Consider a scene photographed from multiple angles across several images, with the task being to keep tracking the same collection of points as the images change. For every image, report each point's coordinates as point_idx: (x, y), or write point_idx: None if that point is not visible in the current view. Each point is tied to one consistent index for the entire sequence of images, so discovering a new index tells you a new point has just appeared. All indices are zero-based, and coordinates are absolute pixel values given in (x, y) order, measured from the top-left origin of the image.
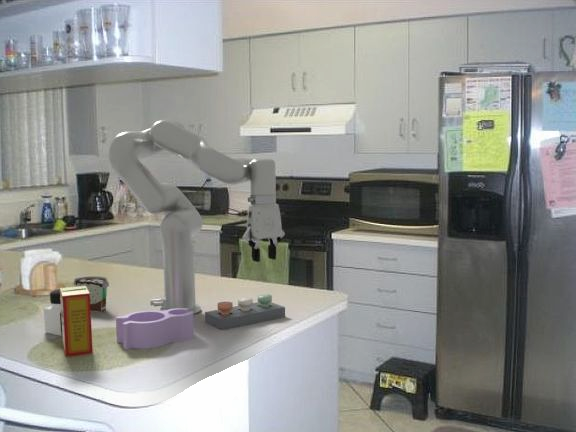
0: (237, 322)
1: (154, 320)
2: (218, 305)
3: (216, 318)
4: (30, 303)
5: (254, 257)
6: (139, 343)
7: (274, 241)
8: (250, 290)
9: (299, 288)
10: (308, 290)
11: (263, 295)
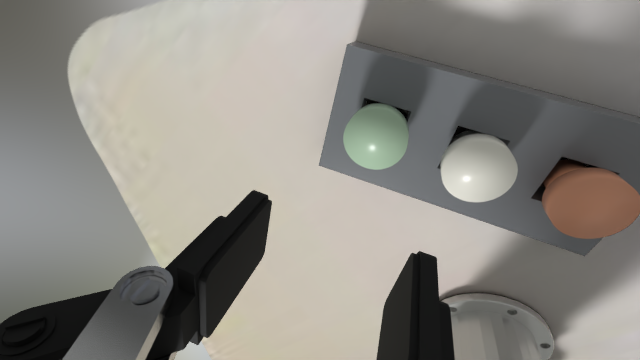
0: (594, 107)
1: None
2: (629, 220)
3: None
4: None
5: (448, 312)
6: None
7: (134, 336)
8: None
9: (131, 199)
10: (122, 172)
11: (367, 152)
